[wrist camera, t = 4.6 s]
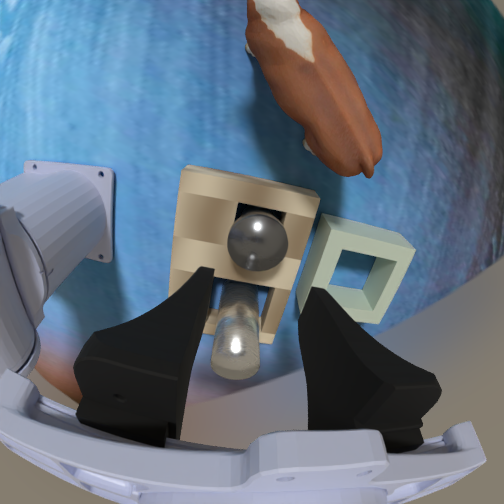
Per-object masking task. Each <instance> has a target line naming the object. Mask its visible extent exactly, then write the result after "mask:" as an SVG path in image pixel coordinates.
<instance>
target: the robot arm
mask: <svg viewBox="0 0 504 504" xmlns="http://www.w3.org/2000/svg"><path fill="white" fill-rule="evenodd" d="M35 165H36V166H37V169H36V167H35ZM101 171H102V172H103V173H104V177H102V176H101V174H100V172H101ZM113 190H114V171H113V170H112V169H111V168H107V167H98V166H90V165H81V164H71V163H60V162H49V161H36V160H28V161H26V162H25V163H24V173H22V174H20V175H18V176H16V177H13V178H11V179H9V180H7V181H5V182H3V183H1V184H0V441H1V442H2V443H3V444H4V445H5V446H6V447H7V448H8V449H10V450H11V451H13V452H14V453H16V454H18V455H19V456H21V457H23V458H24V459H26V460H28V461H30V462H31V463H33V464H35V465H36V466H38V467H40V468H42V469H44V470H46V471H47V472H49V473H51V474H53V475H55V476H57V477H59V478H61V479H63V480H65V481H67V482H69V483H71V484H73V485H75V486H77V487H80V488H82V489H84V490H86V491H89V492H91V493H94V494H96V495H98V496H101V497H103V498H106V499H109V500H111V501H114V502H117V503H120V504H403V503H406V502H409V501H412V500H414V499H417V498H420V497H422V496H425V495H428V494H430V493H433V492H435V491H438V490H440V489H443V488H445V487H447V486H450V485H452V484H454V483H455V482H457V481H458V480H460V479H461V478H463V477H464V476H466V475H467V474H469V473H471V472H472V471H474V470H475V469H476V468H478V467H479V466H481V465H482V464H483V463H485V462H486V457H485V455H484V452H483V449H482V447H481V444H480V442H479V440H478V437H477V435H476V433H475V430H474V428H473V426H472V424H471V422H470V421H467V422H463V423H460V424H456V425H454V426H452V427H450V428H449V429H448V430H447V431H446V432H445V433H443V435H441V436H437V437H433V438H429V439H424V440H423V437H422V435H421V431H420V429H419V428H421V427H422V426H423V422H422V420H421V418H422V417H423V416H424V415H425V414H426V413H427V412H428V411H429V410H430V409H431V408H432V407H433V406H434V404H435V403H436V402H437V401H438V399H439V397H440V396H441V392H442V389H441V387H440V385H439V383H438V381H437V379H436V377H435V375H434V374H433V373H431V372H428V371H426V370H424V369H422V368H419V367H417V366H415V365H413V364H411V363H409V362H408V361H406V360H404V359H402V358H401V357H399V356H397V355H396V354H394V353H393V352H391V351H390V350H388V349H387V348H385V347H384V346H383V345H381V344H380V343H379V342H377V341H376V340H375V339H374V338H373V337H372V336H370V335H369V334H368V333H367V332H366V331H365V330H364V329H363V328H361V327H360V326H359V325H358V324H357V323H356V322H355V321H354V320H353V319H352V318H351V317H350V315H349V314H348V313H347V312H346V311H345V310H344V309H343V308H342V307H341V306H340V305H339V303H338V302H337V301H336V300H335V299H334V298H333V297H332V296H331V295H330V294H329V293H328V292H327V291H326V290H325V289H324V288H319V287H313V286H311V289H310V291H309V294H308V297H307V299H306V302H305V304H304V307H303V309H302V312H301V314H300V317H299V319H298V335H299V344H300V349H301V355H302V360H303V366H304V371H305V376H306V383H307V396H308V430H287V431H286V430H285V431H275V432H272V433H268V434H264V435H261V436H260V437H259V438H257V439H256V440H255V441H254V442H252V443H251V444H250V445H249V447H248V449H247V450H243V449H233V448H225V447H217V446H209V445H203V444H197V443H191V442H186V441H180V435H181V428H182V422H183V415H184V409H185V404H186V398H187V392H188V386H189V381H190V375H191V370H192V366H193V363H194V359H195V356H196V353H197V350H198V346H199V343H200V340H201V337H202V333H203V330H204V327H205V323H206V318H207V312H208V307H209V301H210V295H211V289H212V283H213V277H214V271H215V269H214V268H209V267H204V266H200V267H199V268H198V269H197V270H196V271H195V273H194V274H193V275H192V276H191V277H190V278H189V279H188V280H187V281H186V282H185V283H184V284H183V285H182V286H181V287H180V288H179V289H178V290H177V291H176V292H175V293H173V294H172V295H171V296H170V297H169V298H168V299H166V300H165V301H164V302H162V303H161V304H159V305H158V306H156V307H155V308H153V309H152V310H150V311H148V312H146V313H145V314H143V315H141V316H139V317H137V318H135V319H133V320H130V321H128V322H125V323H123V324H120V325H117V326H114V327H111V328H107V329H104V330H100V331H96V332H94V333H93V334H92V336H91V337H90V338H89V339H88V341H87V342H86V344H85V345H84V346H83V348H82V350H81V352H80V354H79V355H78V357H77V359H76V361H75V363H74V367H73V369H74V374H75V377H76V380H77V382H78V385H79V387H80V390H81V392H82V395H83V397H82V399H81V402H80V404H79V406H78V409H77V410H74V409H72V408H69V407H67V406H64V405H62V404H60V403H57V402H55V401H53V400H50V399H48V398H46V397H44V396H42V395H40V393H39V391H38V389H37V387H36V385H35V384H34V383H33V382H32V381H31V380H29V379H27V378H26V377H27V376H28V375H29V374H30V373H31V371H32V370H33V368H34V367H35V365H36V363H37V361H38V358H39V354H40V348H41V344H40V338H39V335H38V332H37V330H36V328H37V327H38V326H39V324H40V323H41V322H42V320H43V319H44V317H45V316H44V313H43V305H44V303H45V302H46V301H47V300H48V299H49V297H50V296H51V295H52V294H53V293H54V291H55V290H56V289H57V288H58V287H59V286H60V284H61V283H62V282H63V281H64V280H65V279H66V278H67V276H68V275H69V274H70V273H71V272H72V271H73V270H74V269H75V267H76V266H77V265H78V264H79V263H80V262H81V261H82V260H83V259H84V258H88V259H92V260H96V261H100V262H105V263H110V262H111V260H112V259H113V240H112V224H113ZM100 254H102V255H103V257H101V255H100Z"/></svg>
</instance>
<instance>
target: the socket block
mask: <svg viewBox="0 0 504 504" xmlns="http://www.w3.org/2000/svg"><path fill="white" fill-rule="evenodd" d="M238 202H240V203H245V204H249V205H254V206H259V207H264V208H269V209H274V210H278V211H282V212H281V216H280V220H279V221H280V222H281V223H282V224H283V226H284V228H285V230H286V234H287V238H288V250H287V253H286V255H285V257H284V259H283V260H282V261H281V262H280V263H279V264H278V265H277V266H275V267H274V268H271V269H269V270H266V271H259V272H256V271H249V270H246V269H244V268H242V267H240V266H238V265H237V264H236V263H235V262H234V261H233V260H232V258H231V257H230V255H229V252H228V248H227V240H228V234H229V231H230V228H231V226H232V225H233V223H234V220H235V215H236V210H237V205H238ZM319 202H320V197H319V196H318V195H317V193H316V192H315V191H314V190H310V189H306V188H302V187H298V186H294V185H289V184H285V183H281V182H276V181H272V180H267V179H262V178H258V177H253V176H248V175H243V174H238V173H233V172H228V171H222V170H217V169H212V168H206V167H200V166H194V165H187V166H186V167H185V168H184V169H182V170H181V177H180V184H179V192H178V200H177V208H176V216H175V225H174V235H173V245H172V256H171V268H170V281H169V297H170V296H171V295H172V294H173V293H175V292H176V291H177V290H178V289H179V288H180V287H181V286H182V285H183V284H184V283H185V282H186V281H187V280H188V279H189V278H190V277H191V276H192V275H193V274H194V273H195V271H196V270H197V269H198V268H199V267H200V266H204V267H209V268H214V269H215V271H214V276H215V277H220V278H225V279H230V280H236V281H241V282H247V283H252V284H258V285H263V286H269V287H270V288H269V291H268V295H267V298H266V301H265V305H264V308H263V311H262V315H261V317H259V343H266V344H272V342H273V339H274V337H275V334H276V331H277V328H278V326H279V323H280V320H281V317H282V315H283V312H284V309H285V306H286V303H287V301H288V298H289V295H290V292H291V289H292V286H293V283H294V280H295V277H296V274H297V271H298V268H299V265H300V262H301V259H302V256H303V253H304V250H305V247H306V244H307V241H308V238H309V235H310V232H311V228H312V225H313V222H314V219H315V215H316V212H317V209H318V206H319ZM213 279H214V277H213ZM212 285H213V283H212ZM211 291H212V289H211ZM169 297H168V298H169ZM210 297H211V295H210ZM209 303H210V301H209ZM217 316H218V309H212V308H209V307H208V312H207V318H206V323H205V327H204V330H203V333H206V334H211V335H215V329H216V323H217Z"/></svg>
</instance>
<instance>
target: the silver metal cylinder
mask: <svg viewBox="0 0 504 504" xmlns="http://www.w3.org/2000/svg"><path fill="white" fill-rule="evenodd" d="M211 367H212V369H213V371H214V372H215V373H216V374H218V375H219V376H221V377H224V378H227V379H231V380H242V379H247V378H249V377H252V376H253V375H255V374H256V373H257V372H258V370H259V367H260V358H259V310H258V288H257V285H256V284H252V283H247V282H241V281H236V280H230V279H228V280H227V281H225V283H224V284H223V286H222V291H221V297H220V303H219V310H218V316H217V323H216V329H215V336H214V343H213V350H212V357H211Z"/></svg>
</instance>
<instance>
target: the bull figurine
mask: <svg viewBox="0 0 504 504" xmlns="http://www.w3.org/2000/svg"><path fill="white" fill-rule="evenodd" d="M247 18H248V25H247V27H246V32H245V35H246V40H247V43H246V45H245V49H246V51H247V52H248V53H251V54H252V56H253V57H256V59H257V60H258V62H259V64H260V67H261V69H262V72H263V74H264V76H265V79H266V81H267V82H268V84H269V86H270V89H271V91H272V94H273V96H274V98H275V100H276V102H277V103H278V105H279V106H280V107H281V109H282V110H283V111H284V112H285V113H286V114H287V115H288V116H289V117H290V118H292V119H293V120H295V121H296V122H297V123H299V124H301V125H302V126H303V127H304V130H305V138H304V139H303V146H304V147H305V149H306V150H308V151H310V152H311V153H312V155H316V156H317V157H318V158H319V159H320V161H321V162H322V163H323V164H325V165H326V166H327V167H328V168H330V169H331V170H332V171H334V172H335V173H337V174H339V175H341V176H344V177H350V176H356V175H358V174H360V173H361V172H363V174H364V175H365V177H366V178H371V177H372V176H373V173H374V166H375V165H376V164H377V163H378V162H379V161H380V160H381V157H382V153H383V152H382V142H381V134H380V131H379V129H378V126H377V124H376V123H375V121H374V119H373V116H372V114H371V112H370V110H369V109H368V107H367V104H366V101H365V99H364V97H363V94H362V92H361V90H360V88H359V86H358V84H357V81H356V79H355V77H354V75H353V73H352V71H351V70H350V68H349V67H348V65H347V63H346V62H345V60H344V58H343V57H342V55H341V54H340V52H339V51H338V49H337V48H336V46H335V45H334V43H333V42H332V40H331V38H330V37H329V35H328V33H327V32H326V30H325V28H324V27H323V26H322V25H321V24H320V23H319V22H318V21H317V20H316V19H315V18H314V17H313V16H312V15H310V14H309V13H308V12H307V11H305V10H304V9H302V8H301V6H300V5H299V2H298V1H297V0H247Z"/></svg>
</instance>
